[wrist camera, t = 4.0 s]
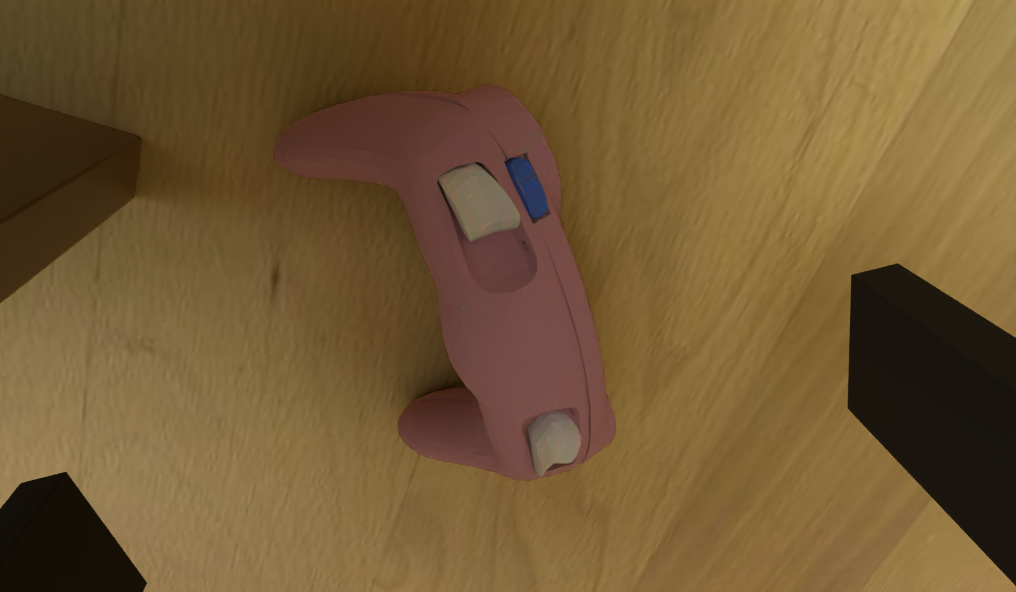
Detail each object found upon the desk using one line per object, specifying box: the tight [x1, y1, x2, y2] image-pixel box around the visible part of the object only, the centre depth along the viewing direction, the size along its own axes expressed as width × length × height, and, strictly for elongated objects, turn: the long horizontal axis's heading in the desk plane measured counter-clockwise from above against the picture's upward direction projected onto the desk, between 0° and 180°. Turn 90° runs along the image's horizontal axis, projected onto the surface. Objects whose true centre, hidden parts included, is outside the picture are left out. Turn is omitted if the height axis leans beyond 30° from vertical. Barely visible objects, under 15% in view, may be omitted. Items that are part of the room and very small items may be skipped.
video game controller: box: [273, 84, 616, 481], centre depth 15 cm, size 10×5×7 cm, turn 15°
